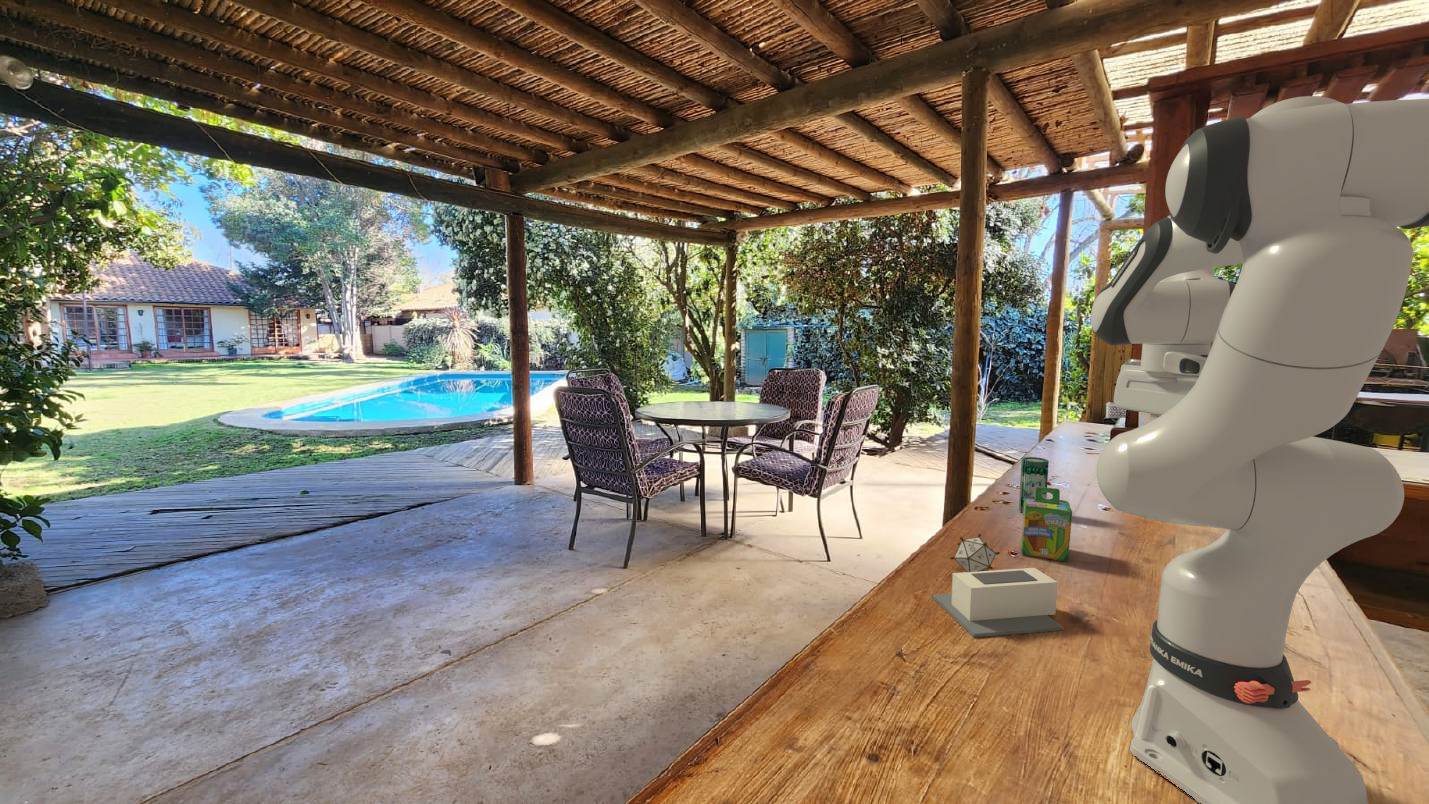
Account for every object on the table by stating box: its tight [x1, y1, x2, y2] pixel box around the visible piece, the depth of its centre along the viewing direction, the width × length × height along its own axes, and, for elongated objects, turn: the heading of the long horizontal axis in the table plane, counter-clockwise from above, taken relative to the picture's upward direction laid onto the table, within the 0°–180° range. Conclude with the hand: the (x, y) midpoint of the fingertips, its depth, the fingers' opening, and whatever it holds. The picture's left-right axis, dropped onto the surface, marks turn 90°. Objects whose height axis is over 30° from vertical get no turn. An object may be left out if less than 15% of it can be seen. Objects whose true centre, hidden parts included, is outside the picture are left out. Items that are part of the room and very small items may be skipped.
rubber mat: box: [931, 592, 1064, 638], centre depth 101 cm, size 14×16×1 cm
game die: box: [948, 533, 1001, 572], centre depth 116 cm, size 9×8×10 cm
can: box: [1018, 456, 1049, 514], centre depth 152 cm, size 6×6×15 cm
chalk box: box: [1020, 487, 1073, 563], centre depth 126 cm, size 9×9×15 cm
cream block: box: [951, 567, 1058, 621], centre depth 100 cm, size 6×6×16 cm
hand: (1166, 442), depth 96 cm, fingers closed
